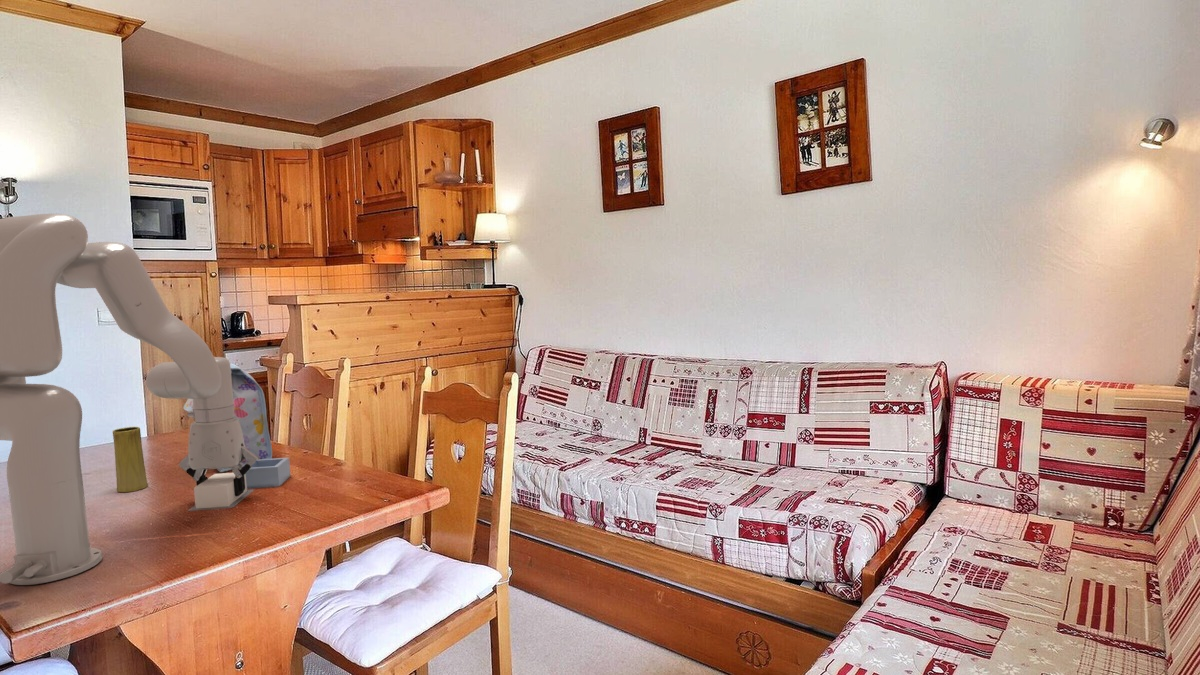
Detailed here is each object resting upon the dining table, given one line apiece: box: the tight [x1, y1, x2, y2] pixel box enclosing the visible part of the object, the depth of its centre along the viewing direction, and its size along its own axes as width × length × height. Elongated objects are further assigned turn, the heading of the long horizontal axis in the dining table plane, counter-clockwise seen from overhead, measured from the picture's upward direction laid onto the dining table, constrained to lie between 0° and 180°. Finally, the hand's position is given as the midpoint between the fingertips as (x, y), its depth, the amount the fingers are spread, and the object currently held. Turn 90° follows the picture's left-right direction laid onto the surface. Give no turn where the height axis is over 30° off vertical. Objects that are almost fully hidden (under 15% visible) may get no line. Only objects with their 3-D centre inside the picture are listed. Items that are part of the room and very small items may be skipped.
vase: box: [112, 426, 149, 494], centre depth 156 cm, size 6×6×14 cm
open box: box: [246, 457, 291, 490], centre depth 156 cm, size 8×8×5 cm
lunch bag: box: [183, 362, 273, 473], centre depth 177 cm, size 22×17×26 cm
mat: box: [187, 488, 256, 512], centre depth 145 cm, size 12×9×1 cm
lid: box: [193, 472, 248, 509], centre depth 145 cm, size 10×6×4 cm, turn 7°
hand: (221, 494), depth 145 cm, fingers closed on lid, 6 cm apart
